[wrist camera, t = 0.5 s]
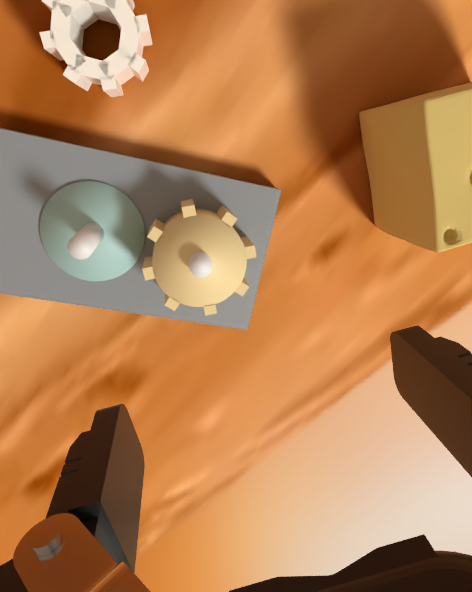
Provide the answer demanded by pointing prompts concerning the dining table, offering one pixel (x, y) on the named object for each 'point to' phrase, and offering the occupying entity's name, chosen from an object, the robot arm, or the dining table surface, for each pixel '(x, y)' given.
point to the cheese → (422, 167)
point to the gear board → (129, 232)
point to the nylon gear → (69, 39)
